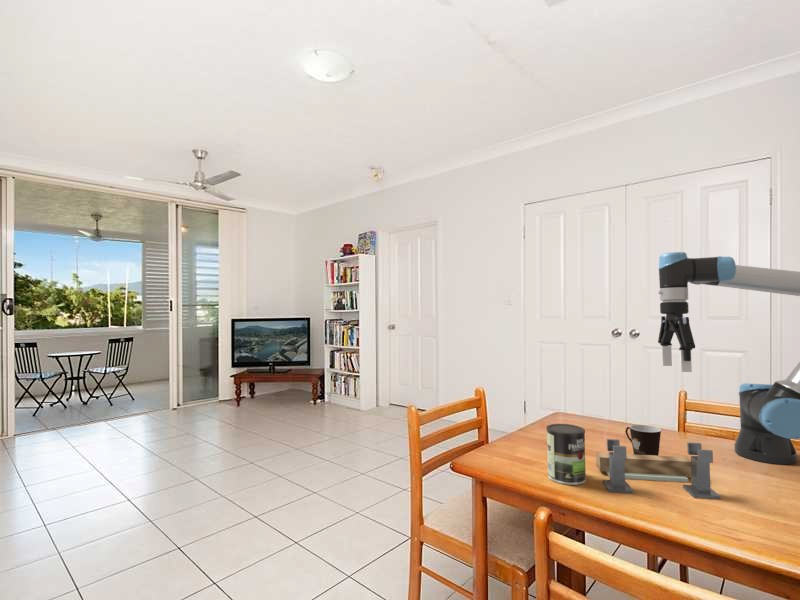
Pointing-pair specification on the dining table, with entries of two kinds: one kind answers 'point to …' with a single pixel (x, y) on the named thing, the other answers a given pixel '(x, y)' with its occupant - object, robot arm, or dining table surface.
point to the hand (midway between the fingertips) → (676, 368)
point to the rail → (649, 464)
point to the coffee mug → (644, 439)
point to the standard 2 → (700, 472)
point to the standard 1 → (617, 468)
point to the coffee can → (566, 454)
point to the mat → (655, 477)
